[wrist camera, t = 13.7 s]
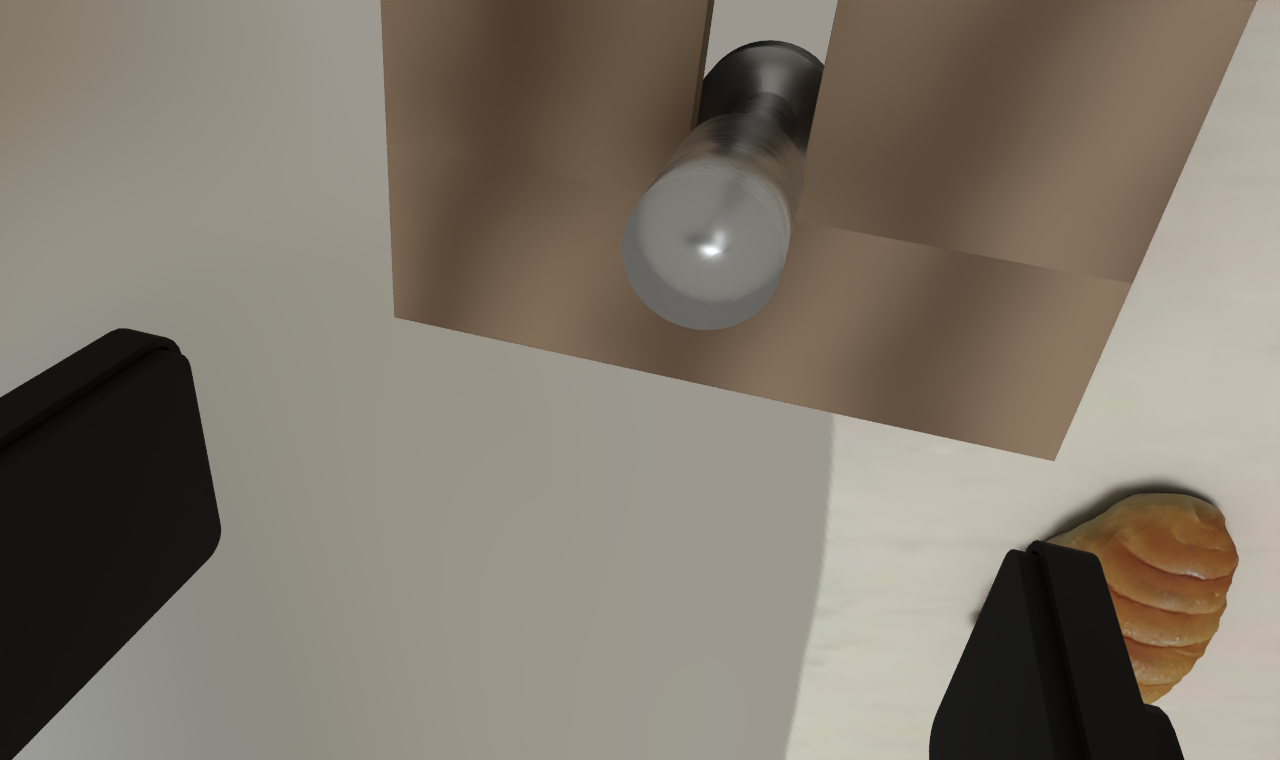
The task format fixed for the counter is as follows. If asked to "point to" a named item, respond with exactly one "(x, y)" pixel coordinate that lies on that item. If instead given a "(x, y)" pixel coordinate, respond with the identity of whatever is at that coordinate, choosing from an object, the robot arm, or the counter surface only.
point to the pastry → (1161, 579)
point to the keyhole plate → (811, 192)
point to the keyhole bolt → (727, 192)
